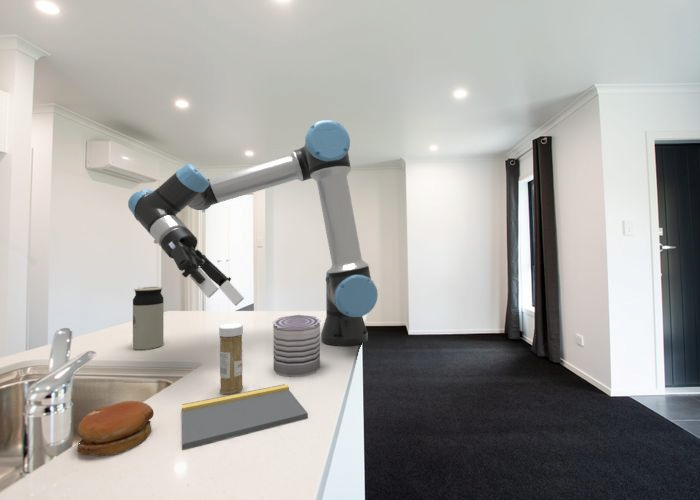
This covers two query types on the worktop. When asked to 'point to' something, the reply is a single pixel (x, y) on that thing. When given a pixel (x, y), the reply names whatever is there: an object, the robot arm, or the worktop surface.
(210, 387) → the worktop surface
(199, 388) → the worktop surface
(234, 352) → the sprinkles bottle
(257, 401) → the mat
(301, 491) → the worktop surface
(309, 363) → the can
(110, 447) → the burger
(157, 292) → the travel mug
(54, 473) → the worktop surface
